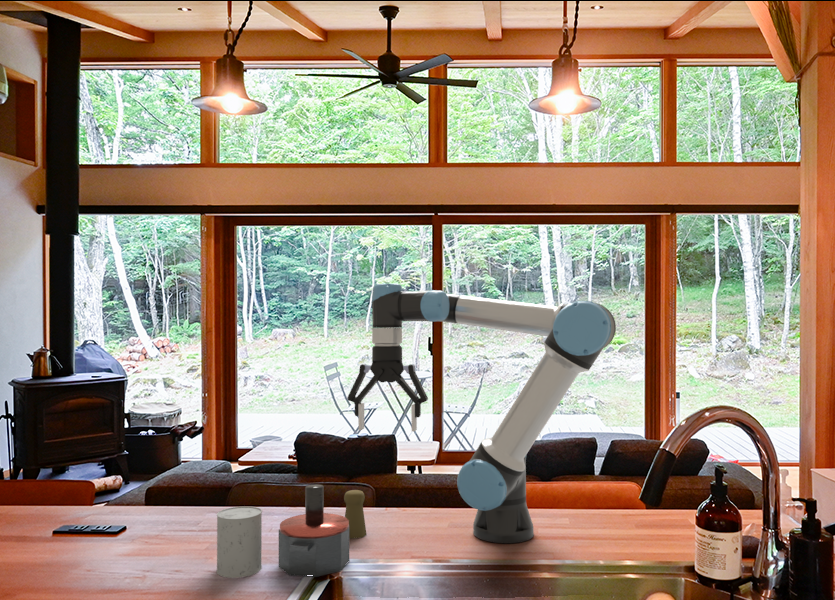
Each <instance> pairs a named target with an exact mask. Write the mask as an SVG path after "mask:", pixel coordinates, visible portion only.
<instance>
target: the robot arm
mask: <svg viewBox="0 0 835 600" xmlns="http://www.w3.org/2000/svg"><path fill="white" fill-rule="evenodd" d="M402 287H403V286H402V285H401V284H400V283H377V284H375V285H374V286H373V288H372V296H371V312H372V314H371V316H372V321H371V322H372V326H371V327H372V328H371V329H372V330H371V331H372V332H371V333H372V335H371V340H372V341H371V342H372V344H374V345H373V346H372V349H371V351H372V352H371V353H372V354H371V356H372V357H371V358H372V361H371V364H370V365H369V364H366V363H362V364H360V365H359V372H358V374H357V377H356V379H355V381H354V382H353V385H352V387H351V389H350V392H349V393H348V395H347V401H348V402H352V403H353V404H354V417H358V431H363V430H364V429H365V402H362V401H363V400H364V399H365V397H366V396H367V395H368V394H369V393H370V392H371V390H372V389H373V387H374V386H375V385H376V384H377V383H378V382H380V383H386V382H387V383H394V382H396V383H397V384H398V385H399V386H400V388H401V389H402V390H403V391H404V392H405V394H406V395H407V396H408V398H410V400H411V401H412V402H413V403H412V404H411V409H410V411H411V414H410V415H411V432H416V431H417V429H418V427H417V424H418V422H417V421H418V418H420V417H421V414H422V413H421V406H422V403H423V404H424V403H425V402H427V401H428V400H429V398H428V395H427V393H426V391H425V389H424V387H423V385H422V383H421V381H420V379H419V377H418V375H417V373H416V366H415V364H413V363H412V364H409V365H408V364H407V365H406V364H405V365H404V364H403V347H402V345H400V344H403V322H431V323H432V322H435V323H436V322H442V323H443V322H444V323H449V324H450V323H452V324H459V325H466V326H471V327H472V326H473V327H480V328H485V329H494V330H500V331H506V332H507V331H508V332H515V333H521V334H527V335H535V336H540V337H541V336H542V337H546V339H545V340H544V342H543V346H544V349H545V352H544V355H543V356H542V357H541V360H540V361H539V363H538V364H537V366H536V367H535V369H534V370H533V372H532V373H531V375H530V377H529V378H528V380H527V381H526V383H525V385H523V388H522V389H521V391H520V393H519V394H518V396H517V398H516V399H515V400H514V403H513V404H512V405H511V407H510V408H509V410H508V411H507V413H506V415H505V416H504V418H503V419H502V421H501V422H500V424H499V426H498V428H497V429H496V430H495V432H494V434H493V435H492V437H488V438H484V439H482V440H481V442H480V443H479V445H478V447H477V449H476V450H475V452H474V454H473V455H472V456H471V458H470V459H469V461H467V462H465V463H464V464H463V465H462V466H461V468H460V470H459V472H458V474H457V479H456V480H457V481H456V485H457V489H458V492H459V494H460V495H459V496H460V497H461V498H462V499H463V501H464V502H465V503H466V504H467V505H468V506H470V507H471V508H473V509H475V510H477V511H476V514H475V518H474V521H473V526H472V528H473V529H472V533H473V535H474V537H476V538H478V539H480V540H482V541H485V542H489V543H496V544H517V543H518V544H519V543H523V542H526V541H529V540H532V539H533V538H534V535H535V534H534V533H535V532H534V531H535V530H534V524H533V521H532V517H531V514H530V512H529V509H528V506H527V477H526V476H527V472H526V471H527V470H526V469H527V467H526V465H527V463H526V462H527V461H526V460H527V454H528V452H530V450H531V448H532V446H533V445H534V443H536V442H535V441H536V440H537V439H538V437H539V436H540V435H541V432H542V431H543V429H544V428H545V426H546V424H548V422H549V420H550V419H551V417H552V415H553V414H554V412H555V411H556V409H557V408H558V406H559V404H560V403H561V402H562V400H563V398H564V397H565V395H566V393H567V392H568V391H569V389H570V387H571V386H572V384H573V383H574V382H575V379H576V378H577V377H578V375H579V374H581V373H584V372H588V371H590V369H591V368H592V366H593V365H594V363H595V362H596V360H597V359H598V358H599V355H600V354H601V352H602V351H603V350H604V349H605V348H606V347H608V346H609V345H610V344H611V343H612V342H613V339H614V338H615V335H616V330H617V327H616V326H617V325H616V321H615V317H614V315H613V313H611V310H609V309H608V308H607V307H605V306H604V305H602V304H600V303H596V302H594V301H590V300H583V299H582V300H577V301H576V300H575V301H572V302H570V303H561V304H559V305H558V306H553V305H545V304H538V303H528V302H519V301H513V300H504V299H494V298H488V297H487V298H485V297H478V296H470V295H463V294H462V295H460V294H456V293H455V294H453V293H449V292H445V291H444V290H437V289H435V290H434V289H430V290H415V291H413V290H412V291H411V290H410V291H406V290H405V291H404V290H403V288H402ZM404 371H405V372H406V374H408V376H409V378H410V379H411V382H412V383H413V386H414V387H415V390H416V392H417V393H416V392H415V391H414V390H413V389H412V388H411V386H410V385H409V384H408V383H407V381H406V380H405V378H404V377H403V376H402V374H403V372H404ZM369 372H371V373H372V374H373V376H372V377H371V379H370V380H369V381H368V383H367V384H366V385H365V386H364V388H363V389H362V390H361V391H360V393H359V394H358V392H359V390H360V387H361V385H362V383H363V381H364V380H365V377H366V375H367V374H368V373H369ZM417 394H418V395H417Z"/></svg>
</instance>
